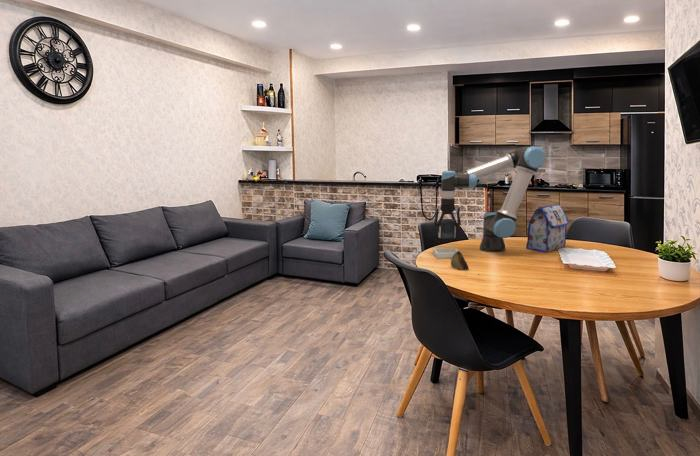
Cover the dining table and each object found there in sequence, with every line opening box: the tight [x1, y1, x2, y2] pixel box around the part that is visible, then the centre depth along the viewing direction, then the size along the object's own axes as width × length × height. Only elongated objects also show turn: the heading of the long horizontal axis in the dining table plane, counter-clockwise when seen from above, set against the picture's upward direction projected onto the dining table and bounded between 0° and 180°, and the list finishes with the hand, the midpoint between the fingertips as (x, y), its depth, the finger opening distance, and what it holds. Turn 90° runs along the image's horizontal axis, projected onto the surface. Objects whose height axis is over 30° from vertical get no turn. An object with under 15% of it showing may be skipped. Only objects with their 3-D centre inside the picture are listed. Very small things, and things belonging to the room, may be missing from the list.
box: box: [440, 218, 456, 240], centre depth 262 cm, size 8×6×11 cm
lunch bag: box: [525, 204, 569, 254], centre depth 276 cm, size 23×17×27 cm
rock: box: [450, 250, 470, 271], centre depth 237 cm, size 11×9×10 cm
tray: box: [432, 247, 463, 260], centre depth 265 cm, size 14×14×3 cm
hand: (446, 237), depth 263 cm, fingers closed on box, 8 cm apart
